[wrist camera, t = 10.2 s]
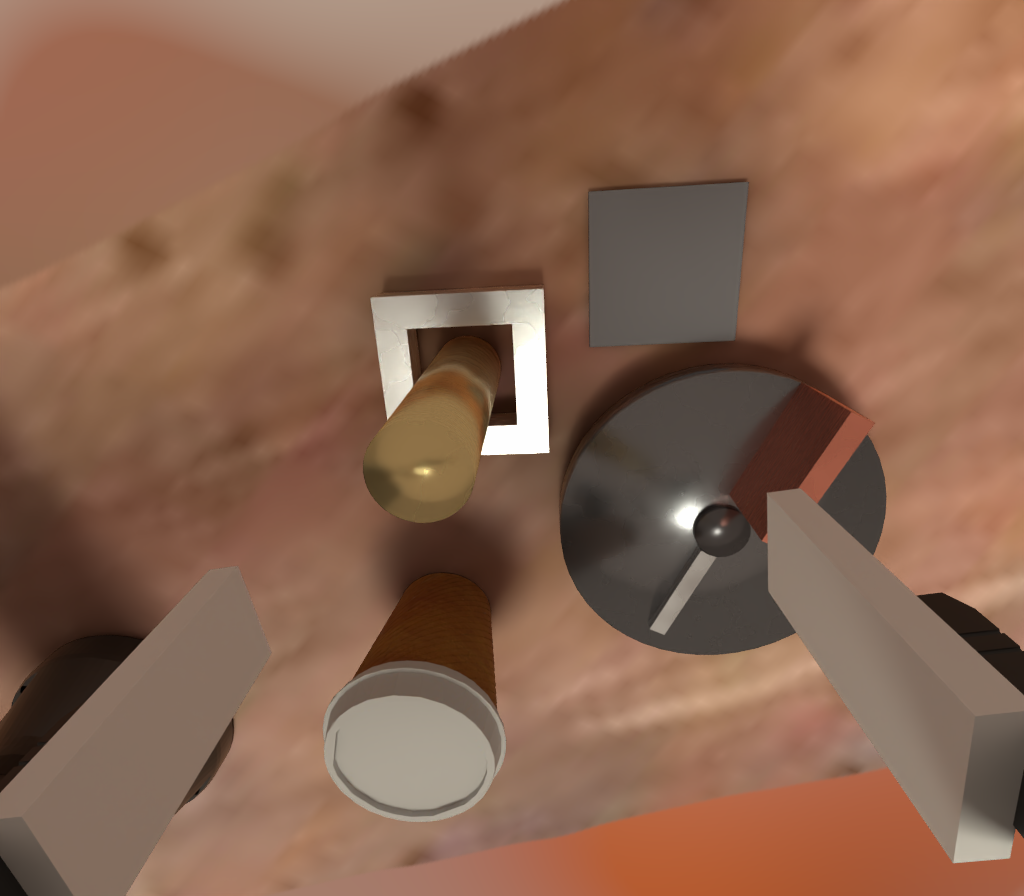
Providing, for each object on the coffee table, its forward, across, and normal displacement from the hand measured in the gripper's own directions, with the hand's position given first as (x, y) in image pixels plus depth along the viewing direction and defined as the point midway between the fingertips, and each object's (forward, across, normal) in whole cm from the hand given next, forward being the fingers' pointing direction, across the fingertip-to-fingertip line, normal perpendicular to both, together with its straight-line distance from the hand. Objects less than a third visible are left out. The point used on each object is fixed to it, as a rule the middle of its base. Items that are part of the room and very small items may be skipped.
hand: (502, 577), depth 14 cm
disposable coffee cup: (+21, -8, -16) cm, 27 cm away
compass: (+19, +10, -9) cm, 23 cm away
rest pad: (+20, +9, +5) cm, 23 cm away
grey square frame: (+21, -3, +1) cm, 21 cm away
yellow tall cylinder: (+21, -3, +1) cm, 21 cm away
